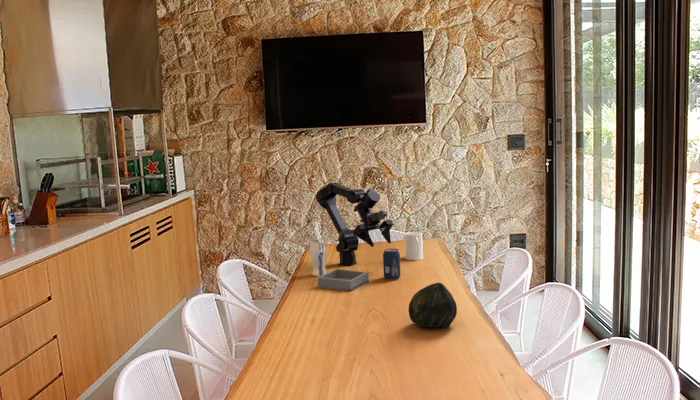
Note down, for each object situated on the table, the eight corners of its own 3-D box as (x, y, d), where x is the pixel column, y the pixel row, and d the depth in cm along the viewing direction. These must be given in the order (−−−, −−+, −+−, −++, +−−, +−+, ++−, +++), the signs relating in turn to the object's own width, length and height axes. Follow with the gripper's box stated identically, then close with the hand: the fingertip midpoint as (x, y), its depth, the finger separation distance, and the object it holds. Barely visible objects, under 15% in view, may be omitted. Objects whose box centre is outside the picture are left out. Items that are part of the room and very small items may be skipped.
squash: (398, 303, 204) (412, 277, 193) (438, 299, 209) (454, 273, 198) (412, 341, 195) (428, 316, 184) (454, 336, 200) (471, 311, 189)
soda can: (390, 275, 261) (389, 247, 260) (403, 277, 257) (402, 249, 255) (380, 278, 256) (379, 250, 255) (394, 281, 252) (393, 252, 250)
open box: (318, 287, 247) (317, 277, 247) (337, 278, 260) (336, 269, 259) (350, 291, 240) (350, 281, 239) (368, 281, 253) (368, 272, 252)
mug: (426, 261, 284) (425, 235, 282) (407, 262, 283) (407, 236, 282) (421, 255, 295) (421, 231, 294) (404, 256, 295) (403, 231, 293)
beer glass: (328, 272, 270) (326, 238, 268) (326, 276, 263) (324, 242, 261) (312, 272, 271) (311, 239, 269) (310, 276, 264) (308, 242, 262)
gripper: (357, 206, 258) (373, 237, 251) (391, 201, 268) (407, 231, 262) (345, 221, 265) (361, 251, 259) (379, 215, 276) (395, 245, 270)
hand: (381, 244), depth 262 cm, fingers open, 9 cm apart
